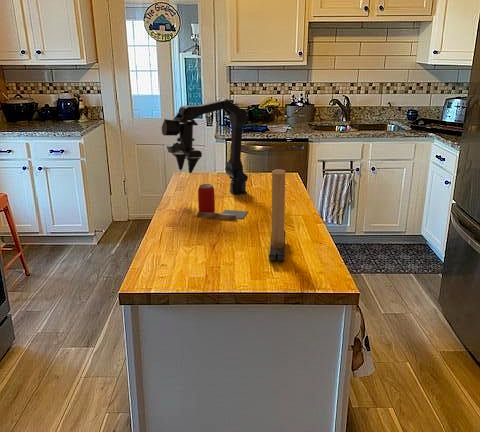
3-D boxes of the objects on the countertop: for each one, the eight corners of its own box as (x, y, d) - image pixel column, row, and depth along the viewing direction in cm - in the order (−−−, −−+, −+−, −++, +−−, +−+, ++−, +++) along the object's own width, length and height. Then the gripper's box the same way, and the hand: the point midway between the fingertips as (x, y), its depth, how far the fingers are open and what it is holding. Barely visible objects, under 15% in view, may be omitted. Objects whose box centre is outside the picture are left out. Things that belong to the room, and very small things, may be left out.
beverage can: (216, 210, 203) (215, 183, 199) (213, 216, 196) (212, 188, 192) (200, 210, 203) (199, 183, 199) (197, 215, 197) (196, 187, 193)
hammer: (284, 270, 152) (286, 186, 138) (268, 270, 153) (268, 186, 138) (285, 237, 170) (287, 159, 155) (271, 236, 170) (272, 158, 155)
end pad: (219, 217, 195) (219, 216, 195) (224, 210, 203) (224, 209, 203) (243, 219, 192) (243, 218, 192) (247, 212, 201) (247, 211, 201)
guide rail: (197, 217, 195) (197, 212, 194) (198, 216, 196) (198, 211, 195) (235, 220, 191) (235, 215, 191) (236, 219, 193) (236, 214, 192)
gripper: (159, 133, 209) (159, 169, 213) (179, 137, 194) (178, 175, 198) (182, 134, 215) (181, 168, 219) (202, 137, 200) (201, 174, 204)
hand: (185, 171), depth 210 cm, fingers open, 9 cm apart
